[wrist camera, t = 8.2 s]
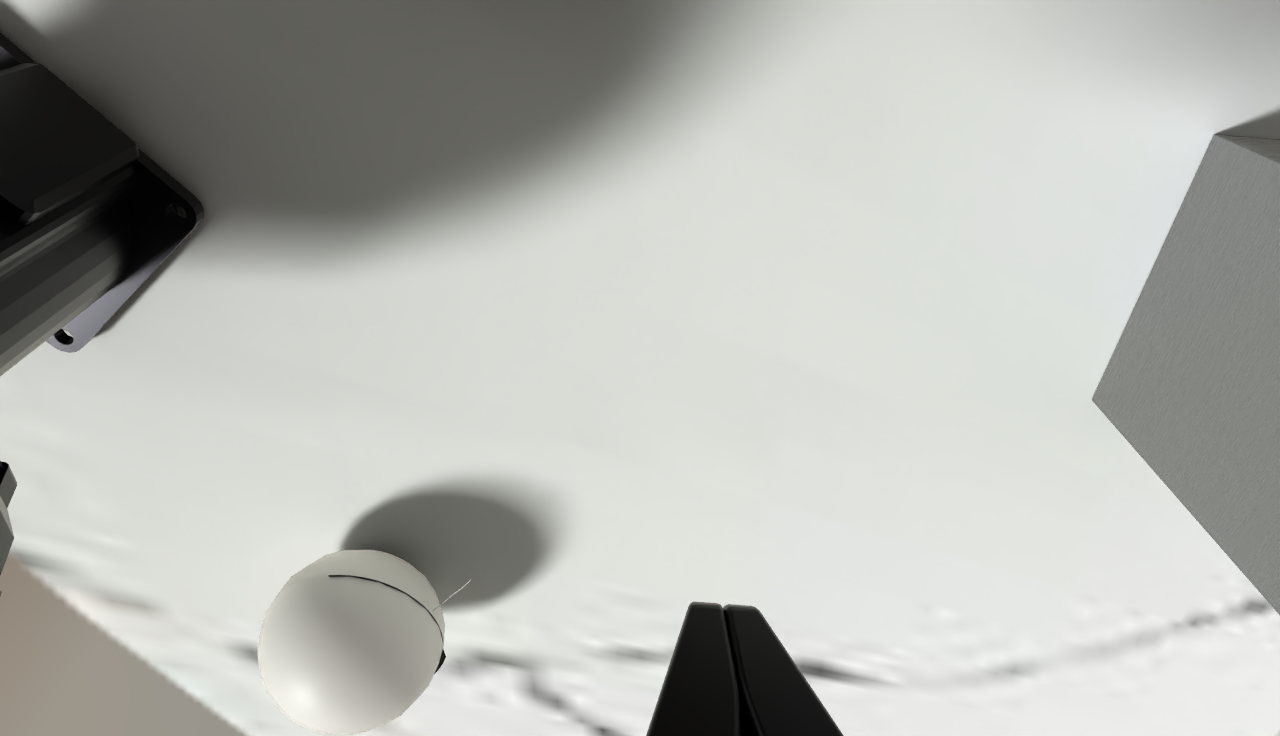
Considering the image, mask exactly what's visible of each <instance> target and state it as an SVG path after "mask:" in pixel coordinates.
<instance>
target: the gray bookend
mask: <svg viewBox="0 0 1280 736" xmlns="http://www.w3.org/2000/svg"><path fill="white" fill-rule="evenodd" d="M1092 401H1093V402H1094V403H1095V404H1096V405H1097V406H1098V408H1099V409H1100V410H1101V411H1102V412H1103V413H1104V415H1105V416H1106V417H1107V418H1108V419H1109V420H1110V421H1111V423H1112V424H1113V425H1114V426H1115V427H1116V428H1117V429H1118V431H1119V432H1120V433H1121V434H1122V435H1123V436H1124V437H1125V439H1126V440H1127V441H1128V442H1129V443H1130V444H1131V445H1132V447H1133V448H1134V449H1135V450H1136V451H1137V452H1138V453H1139V455H1140V456H1141V457H1142V458H1143V459H1144V460H1145V461H1146V463H1147V464H1148V465H1149V466H1150V467H1151V468H1152V469H1153V471H1154V472H1155V473H1156V474H1157V475H1158V476H1159V477H1160V479H1161V480H1162V481H1163V482H1164V483H1165V484H1166V485H1167V487H1168V488H1169V489H1170V490H1171V491H1172V492H1173V493H1174V495H1175V496H1176V497H1177V498H1178V499H1179V500H1180V501H1181V503H1182V504H1183V505H1184V506H1185V507H1186V508H1187V509H1188V511H1189V512H1190V513H1191V514H1192V515H1193V516H1194V517H1195V519H1196V520H1197V521H1198V522H1199V523H1200V524H1201V525H1202V527H1203V528H1204V529H1205V530H1206V531H1207V532H1208V533H1209V535H1210V536H1211V537H1212V538H1213V539H1214V540H1215V541H1216V543H1217V544H1218V545H1219V546H1220V547H1221V548H1222V550H1223V551H1224V552H1225V553H1226V554H1227V555H1228V556H1229V558H1230V559H1231V560H1232V561H1233V562H1234V563H1235V564H1236V566H1237V567H1238V568H1239V569H1240V570H1241V571H1242V572H1243V574H1244V575H1245V576H1246V577H1247V578H1248V579H1249V580H1250V582H1251V583H1252V584H1253V585H1254V586H1255V587H1256V588H1257V590H1258V591H1259V592H1260V593H1261V594H1262V595H1263V596H1264V598H1265V599H1266V600H1267V601H1268V602H1269V603H1270V604H1271V606H1272V607H1273V608H1274V609H1275V610H1276V611H1277V612H1278V614H1279V615H1280V140H1277V139H1264V138H1251V137H1239V136H1226V135H1214V136H1213V138H1212V140H1211V142H1210V144H1209V147H1208V149H1207V151H1206V153H1205V155H1204V157H1203V160H1202V162H1201V164H1200V166H1199V168H1198V170H1197V173H1196V175H1195V177H1194V179H1193V181H1192V184H1191V186H1190V188H1189V190H1188V192H1187V194H1186V197H1185V199H1184V201H1183V203H1182V205H1181V207H1180V210H1179V212H1178V214H1177V216H1176V218H1175V220H1174V223H1173V225H1172V227H1171V229H1170V231H1169V233H1168V236H1167V238H1166V240H1165V242H1164V244H1163V246H1162V249H1161V251H1160V253H1159V255H1158V257H1157V260H1156V262H1155V264H1154V266H1153V268H1152V270H1151V273H1150V275H1149V277H1148V279H1147V281H1146V283H1145V286H1144V288H1143V290H1142V292H1141V294H1140V296H1139V299H1138V301H1137V303H1136V305H1135V307H1134V309H1133V312H1132V314H1131V316H1130V318H1129V320H1128V322H1127V325H1126V327H1125V329H1124V331H1123V333H1122V336H1121V338H1120V340H1119V342H1118V344H1117V346H1116V349H1115V351H1114V353H1113V355H1112V357H1111V359H1110V362H1109V364H1108V366H1107V368H1106V370H1105V372H1104V375H1103V377H1102V379H1101V381H1100V383H1099V385H1098V388H1097V390H1096V392H1095V394H1094V396H1093V398H1092Z"/></svg>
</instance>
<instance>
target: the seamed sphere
mask: <svg viewBox="0 0 1280 736" xmlns="http://www.w3.org/2000/svg"><path fill="white" fill-rule="evenodd" d="M470 581H471V580H470ZM470 581H469V582H470ZM469 582H468V583H469ZM468 583H466V584H465V585H464V586H466V585H467V584H468ZM464 586H463V587H464ZM463 587H462V588H463ZM462 588H460V589H459V590H457V591H456V592H455V593H457V592H458V591H460V590H461V589H462ZM455 593H453V594H452V595H451V596H453V595H454V594H455ZM451 596H450V597H451ZM450 597H449V598H450ZM449 598H448V599H449ZM448 599H446V600H445V601H444V602H446V601H447V600H448ZM444 602H443V603H444ZM443 603H442V604H443ZM442 604H440V603H439V601H438V598H437V595H436V593H435V590H434V589H433V587H432V586H431V584H430V583H429V581H428V580H427V578H426V577H425V576H424V575H423V574H422V573H421V572H419V571H418V570H417V569H415V568H414V567H413V566H412V565H410V564H409V563H408V562H406V561H405V560H403V559H401V558H399V557H397V556H394V555H392V554H390V553H387V552H382V551H377V550H343V551H340V552H336V553H332V554H329V555H325V556H323V557H322V558H320V559H318V560H317V561H315V562H314V563H312V564H310V565H309V566H307V567H306V568H304V569H302V570H301V571H299V572H298V573H296V574H295V575H293V576H292V577H291V578H290V579H289V580H288V582H287V583H286V584H285V585H284V587H283V588H282V589H281V591H280V592H279V593H278V595H277V596H276V598H275V599H274V601H273V602H272V604H271V605H270V607H269V608H268V610H267V611H266V613H265V617H264V620H263V624H262V627H261V631H260V635H259V642H258V661H259V668H260V676H261V679H262V681H263V684H264V686H265V688H266V691H267V693H268V694H269V695H270V697H271V698H272V700H273V701H274V702H275V704H276V705H277V707H278V708H279V709H280V710H281V711H282V712H283V713H284V714H285V715H286V716H287V717H288V718H289V719H290V720H292V721H294V722H295V723H297V724H299V725H300V726H302V727H305V728H307V729H310V730H313V731H316V732H319V733H325V734H331V735H353V734H358V733H362V732H367V731H369V730H371V729H374V728H376V727H378V726H381V725H383V724H385V723H387V722H389V721H391V720H393V719H395V718H397V717H399V716H400V715H402V714H403V713H404V712H405V711H406V710H407V709H408V708H409V707H410V705H411V704H412V703H413V702H414V701H415V700H416V699H417V698H418V697H419V696H420V695H421V694H422V693H423V691H424V690H425V689H426V688H427V687H428V686H429V684H430V682H431V680H432V678H433V675H434V674H435V673H436V672H437V671H438V670H439V668H440V667H441V665H442V664H443V662H444V660H445V658H446V656H445V653H444V650H443V646H444V628H445V623H444V618H443V614H442V609H441V605H442Z"/></svg>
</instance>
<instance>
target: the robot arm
mask: <svg viewBox="0 0 1280 736" xmlns="http://www.w3.org/2000/svg"><path fill="white" fill-rule="evenodd" d="M173 204H174V205H178V206H180V207H182V208H183V209H184V211H185V212H186V216H187V218H185V217H182V216H180V215H178V214H177V213H176V211H175V210H174V206H173ZM203 217H204V209H203V207H202V204H201V202H200V201H199V200H198V199H197V198H196V197H195V196H194V195H193V194H192V193H191V192H189V191H188V190H187V189H186V188H185V187H183V186H182V185H181V184H180V183H179V182H178V181H176V180H175V179H174V178H173V177H172V176H170V175H169V174H168V173H167V172H166V171H164V170H163V169H162V168H161V167H160V166H158V165H157V164H156V163H155V162H154V161H152V160H151V159H150V158H149V157H148V156H146V155H145V154H144V153H143V152H142V151H141V150H139V149H138V148H137V146H136V144H135V143H134V141H132V140H131V139H130V138H129V137H128V136H126V135H125V134H124V133H123V132H122V131H120V130H119V129H118V128H117V127H116V126H115V125H113V124H112V123H111V122H110V121H109V120H107V119H106V118H105V117H104V116H103V115H101V114H100V113H99V112H98V111H97V110H95V109H94V108H93V107H92V106H91V105H90V104H88V103H87V102H86V101H85V100H84V99H82V98H81V97H80V96H79V95H78V94H76V93H75V92H74V91H73V90H72V89H70V88H69V87H68V86H67V85H66V84H65V83H63V82H62V81H61V80H60V79H59V78H57V77H56V76H55V75H54V74H53V73H51V72H50V71H49V70H48V69H47V68H45V67H44V66H43V65H40V64H37V63H36V62H34V61H33V60H32V59H31V58H30V57H28V56H27V55H26V54H25V53H24V52H22V51H21V50H20V49H19V48H18V47H16V46H15V45H14V44H13V43H12V42H10V41H9V40H8V39H7V38H6V37H4V36H3V35H2V34H1V33H0V376H1V375H3V374H4V373H5V372H6V371H8V370H9V369H10V368H12V367H13V366H14V365H15V364H17V363H18V362H19V361H20V360H22V359H23V358H24V357H26V356H27V355H28V354H29V353H31V352H32V351H33V350H34V349H36V348H37V347H38V346H40V345H41V344H42V343H43V342H45V341H46V342H48V343H49V344H51V345H52V346H54V347H55V348H57V349H59V350H61V351H65V352H76V351H78V350H80V349H81V348H82V347H83V346H85V345H86V344H87V343H88V342H89V341H90V340H91V339H92V338H93V337H94V336H95V335H96V334H97V333H98V332H99V331H100V329H101V328H102V327H103V326H104V325H105V324H106V323H107V322H108V321H109V320H110V319H111V318H112V317H113V316H114V315H115V313H116V312H117V311H118V310H119V309H120V308H121V307H122V306H123V305H124V304H125V303H126V302H127V301H128V300H129V299H130V297H131V296H132V295H133V294H134V293H135V292H136V291H137V290H138V289H139V288H140V287H141V286H142V285H143V284H144V283H145V281H146V280H147V279H148V278H149V277H150V276H151V275H152V274H153V273H154V272H155V271H156V270H157V269H158V268H159V267H160V265H161V264H162V263H163V262H164V261H165V260H166V259H167V258H168V257H169V256H170V255H171V254H172V253H173V252H174V251H175V249H176V248H177V247H178V246H179V245H180V244H181V243H182V242H183V241H184V240H185V239H186V238H187V237H188V236H189V234H190V233H191V232H192V231H193V230H194V229H195V228H196V227H197V226H198V225H199V224H200V223H201V221H202V219H203ZM63 329H64V330H66V331H68V332H69V333H70V334H71V335H72V336H73V337H71V336H69V335H67V334H66V333H65V332H64V330H63ZM16 486H17V482H16V480H15V478H14V475H13V473H12V471H11V469H10V467H9V465H8V464H7V463H6V462H1V461H0V574H1V572H2V570H3V567H4V564H5V561H6V559H7V556H8V553H9V550H10V548H11V545H12V542H13V539H14V536H13V532H12V527H11V523H10V519H9V515H8V510H7V507H8V505H9V503H10V500H11V498H12V496H13V493H14V491H15V489H16ZM0 595H1V590H0ZM646 736H843V734H842V733H841V731H840V730H839V728H838V727H837V725H836V724H835V722H834V721H833V719H832V718H831V716H830V715H829V713H828V712H827V710H826V709H825V707H824V706H823V704H822V703H821V701H820V700H819V698H818V697H817V695H816V694H815V693H814V691H813V690H812V688H811V687H810V685H809V684H808V682H807V681H806V679H805V678H804V676H803V675H802V673H801V672H800V670H799V669H798V667H797V666H796V664H795V663H794V661H793V660H792V658H791V657H790V655H789V654H788V652H787V651H786V649H785V648H784V646H783V645H782V643H781V642H780V640H779V639H778V637H777V636H776V635H775V633H774V632H773V630H772V629H771V627H770V626H769V624H768V623H767V621H766V620H765V618H764V617H763V615H762V614H761V612H760V611H759V610H758V609H757V608H755V607H753V606H745V605H731V604H729V605H726V606H724V607H722V606H721V605H720V604H717V603H705V602H692V603H691V604H690V605H689V607H688V610H687V613H686V616H685V619H684V622H683V625H682V628H681V631H680V634H679V637H678V640H677V643H676V646H675V650H674V653H673V656H672V659H671V662H670V665H669V668H668V671H667V674H666V677H665V680H664V683H663V686H662V689H661V692H660V695H659V698H658V702H657V705H656V708H655V711H654V714H653V717H652V720H651V723H650V726H649V729H648V732H647V735H646Z"/></svg>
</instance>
